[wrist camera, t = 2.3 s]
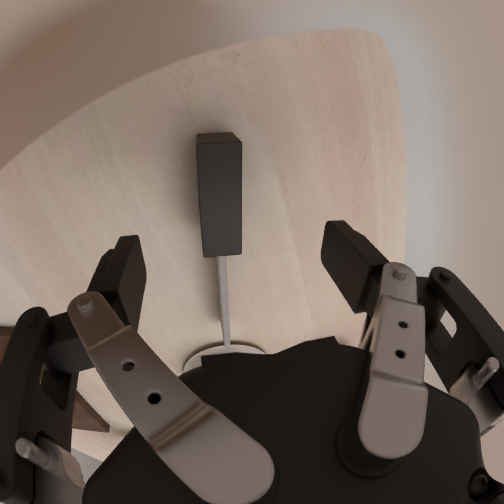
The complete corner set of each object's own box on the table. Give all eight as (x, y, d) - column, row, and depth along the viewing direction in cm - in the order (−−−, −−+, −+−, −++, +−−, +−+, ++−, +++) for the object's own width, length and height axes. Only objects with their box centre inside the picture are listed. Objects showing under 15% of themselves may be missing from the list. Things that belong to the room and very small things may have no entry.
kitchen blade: (196, 133, 16) (196, 143, 13) (232, 132, 17) (242, 141, 14) (210, 322, 26) (214, 355, 22) (235, 320, 26) (242, 352, 23)
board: (-55, 320, 18) (-59, 327, 17) (31, 328, 22) (27, 337, 21) (22, 411, 32) (21, 417, 31) (109, 425, 36) (109, 432, 35)
